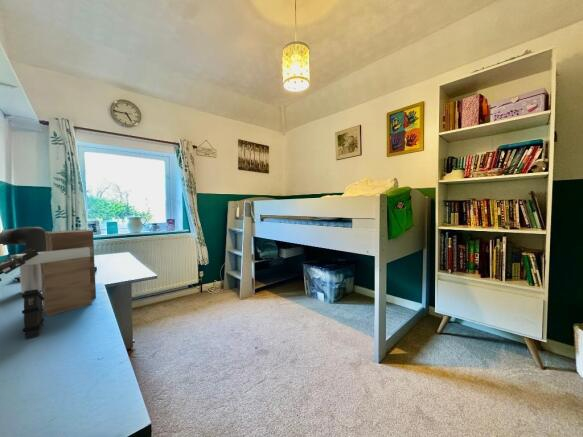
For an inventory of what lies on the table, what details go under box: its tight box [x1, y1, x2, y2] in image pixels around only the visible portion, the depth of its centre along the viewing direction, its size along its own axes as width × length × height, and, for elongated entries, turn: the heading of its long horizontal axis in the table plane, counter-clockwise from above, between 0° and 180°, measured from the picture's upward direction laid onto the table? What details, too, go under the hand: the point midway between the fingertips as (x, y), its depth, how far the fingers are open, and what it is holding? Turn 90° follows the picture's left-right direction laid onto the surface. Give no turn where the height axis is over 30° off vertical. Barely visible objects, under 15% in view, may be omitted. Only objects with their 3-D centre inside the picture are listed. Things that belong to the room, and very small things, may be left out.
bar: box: [9, 247, 95, 266], centre depth 100 cm, size 4×24×4 cm, turn 144°
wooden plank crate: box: [40, 228, 97, 317], centre depth 108 cm, size 21×18×32 cm
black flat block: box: [21, 289, 45, 340], centre depth 84 cm, size 4×13×15 cm, turn 40°
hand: (34, 251), depth 95 cm, fingers open, 5 cm apart
